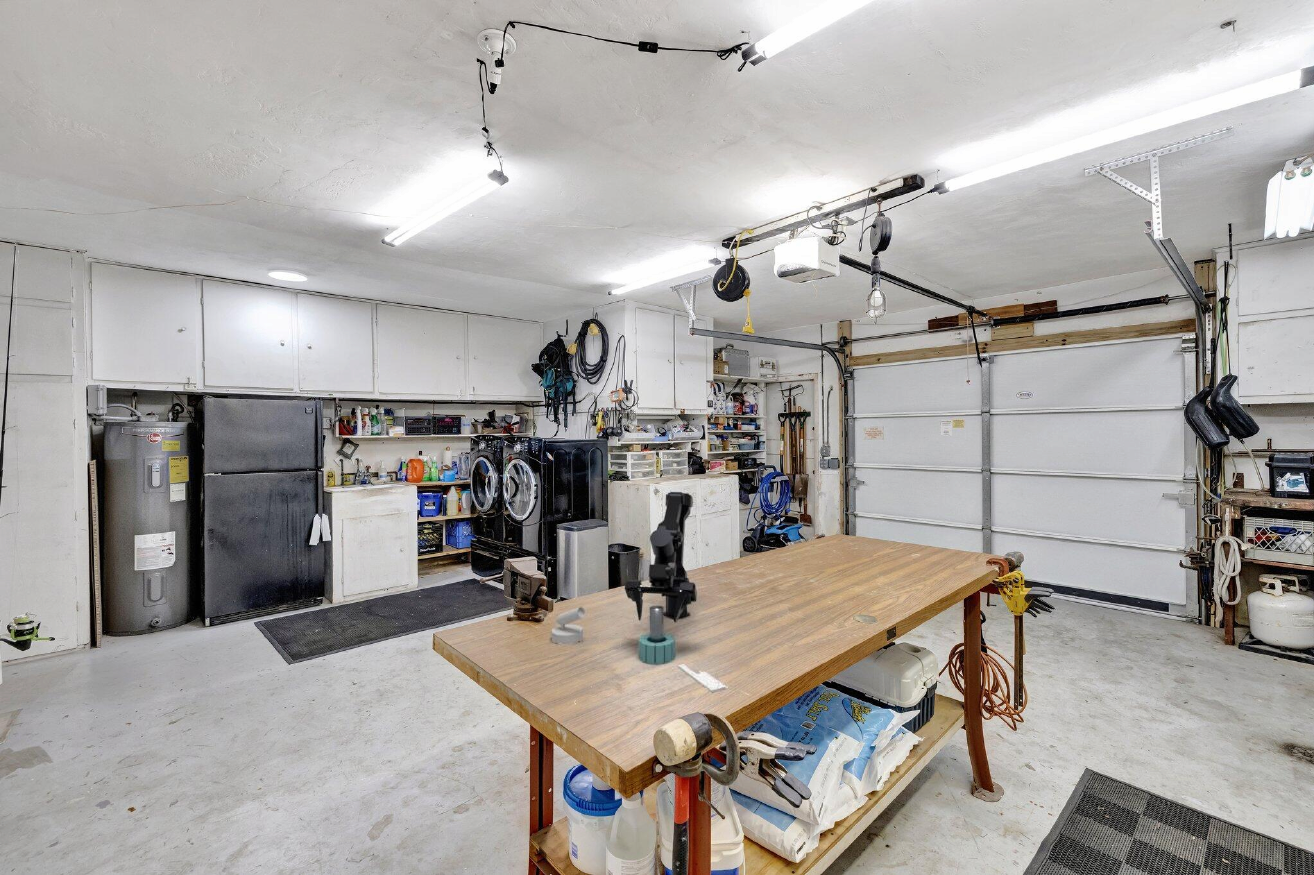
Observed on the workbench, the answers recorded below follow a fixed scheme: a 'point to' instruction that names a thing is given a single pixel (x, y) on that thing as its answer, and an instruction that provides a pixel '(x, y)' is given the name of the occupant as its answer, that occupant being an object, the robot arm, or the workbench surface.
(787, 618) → the workbench surface
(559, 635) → the wall hook
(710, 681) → the butcher knife
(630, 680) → the workbench surface
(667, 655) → the teal notched ring
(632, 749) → the workbench surface
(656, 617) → the shiny metal cylinder
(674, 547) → the robot arm
